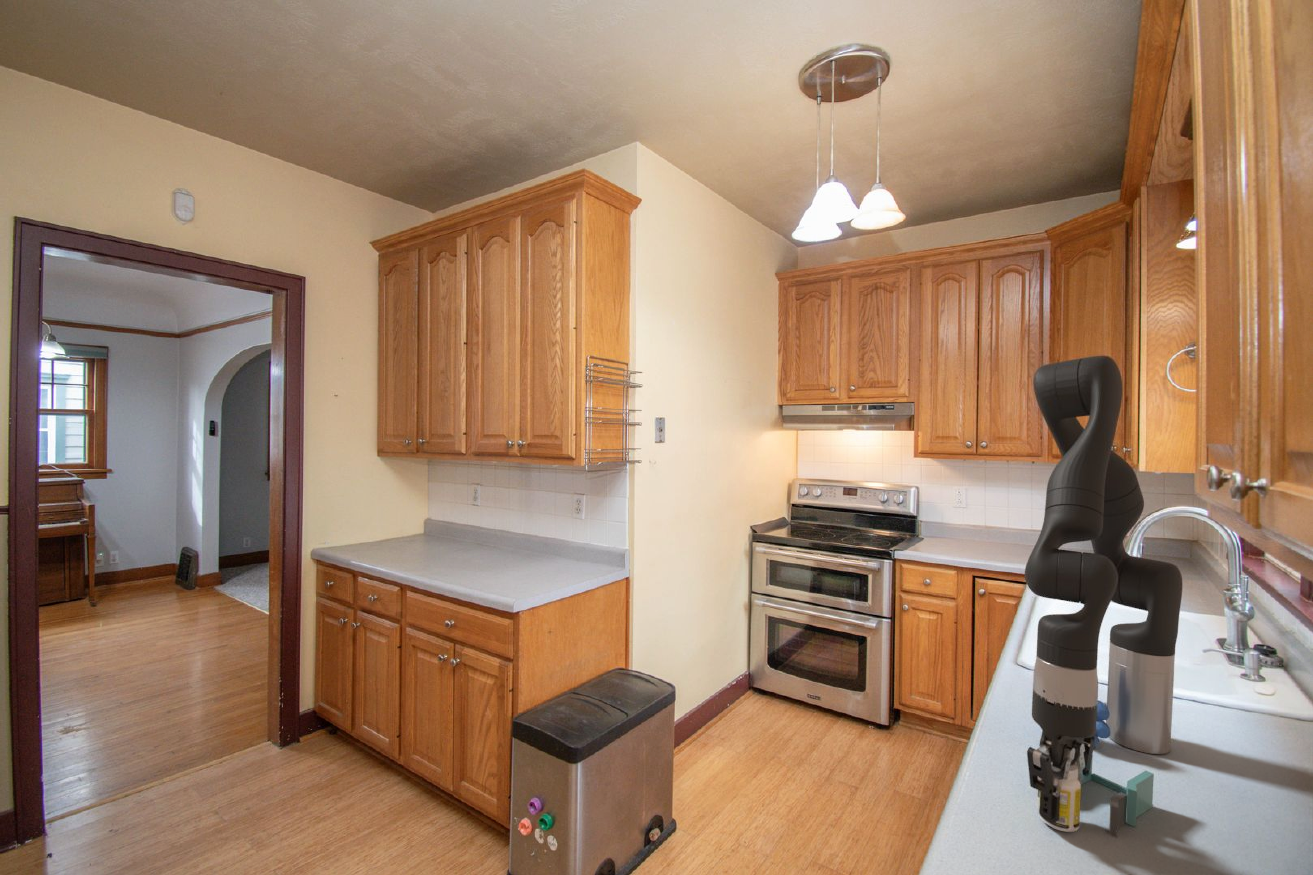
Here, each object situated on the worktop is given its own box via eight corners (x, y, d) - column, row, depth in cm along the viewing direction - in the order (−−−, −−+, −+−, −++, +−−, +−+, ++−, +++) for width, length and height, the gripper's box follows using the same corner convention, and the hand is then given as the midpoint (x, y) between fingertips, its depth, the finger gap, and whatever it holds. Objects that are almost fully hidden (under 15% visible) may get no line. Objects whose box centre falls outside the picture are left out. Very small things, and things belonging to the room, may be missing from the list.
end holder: (1080, 772, 99) (1081, 741, 99) (1160, 808, 89) (1162, 775, 89) (1052, 787, 94) (1053, 755, 94) (1134, 827, 85) (1135, 792, 85)
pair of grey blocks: (1054, 787, 94) (1055, 761, 94) (1133, 826, 85) (1134, 798, 85) (1036, 796, 91) (1037, 770, 91) (1115, 837, 83) (1117, 808, 82)
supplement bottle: (1063, 811, 87) (1066, 753, 87) (1087, 833, 83) (1090, 772, 82) (1030, 810, 87) (1033, 753, 87) (1053, 832, 82) (1056, 772, 82)
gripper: (1061, 673, 91) (1056, 784, 92) (1008, 692, 84) (1003, 812, 84) (1119, 693, 85) (1114, 812, 85) (1067, 715, 78) (1061, 845, 78)
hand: (1058, 812), depth 85 cm, fingers closed on supplement bottle, 4 cm apart
